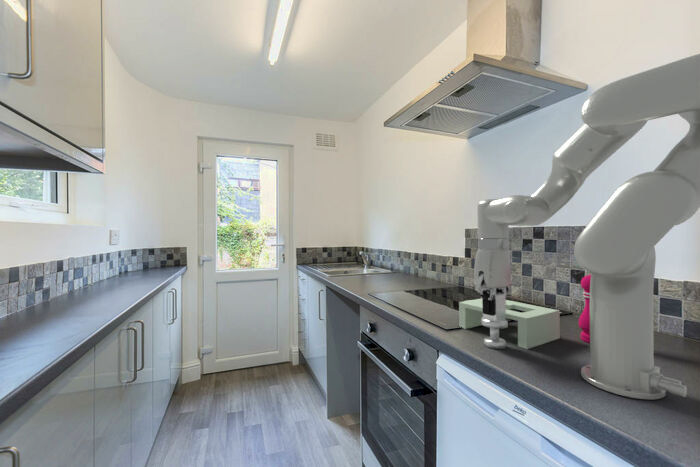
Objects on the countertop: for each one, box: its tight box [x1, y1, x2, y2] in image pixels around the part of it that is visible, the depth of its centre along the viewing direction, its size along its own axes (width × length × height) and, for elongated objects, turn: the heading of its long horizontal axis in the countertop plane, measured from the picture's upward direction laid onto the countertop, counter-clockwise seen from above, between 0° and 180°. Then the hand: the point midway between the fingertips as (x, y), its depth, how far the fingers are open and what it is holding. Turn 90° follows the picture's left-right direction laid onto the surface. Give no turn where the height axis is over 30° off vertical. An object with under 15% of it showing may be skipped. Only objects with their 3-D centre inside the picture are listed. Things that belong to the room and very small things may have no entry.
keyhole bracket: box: [458, 298, 561, 350], centre depth 93 cm, size 22×16×8 cm
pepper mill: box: [578, 273, 591, 344], centre depth 85 cm, size 7×7×20 cm
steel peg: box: [481, 291, 509, 350], centre depth 82 cm, size 6×6×14 cm
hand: (494, 312), depth 82 cm, fingers closed on steel peg, 4 cm apart
